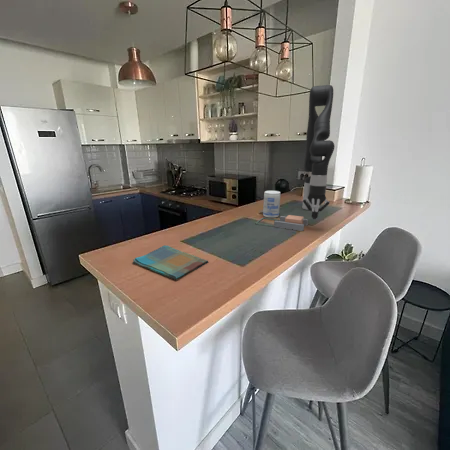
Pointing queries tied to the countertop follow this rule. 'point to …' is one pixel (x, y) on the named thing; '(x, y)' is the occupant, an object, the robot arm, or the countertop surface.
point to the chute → (290, 224)
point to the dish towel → (170, 262)
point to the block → (294, 219)
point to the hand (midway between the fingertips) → (314, 218)
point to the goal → (266, 224)
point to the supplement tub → (271, 204)
